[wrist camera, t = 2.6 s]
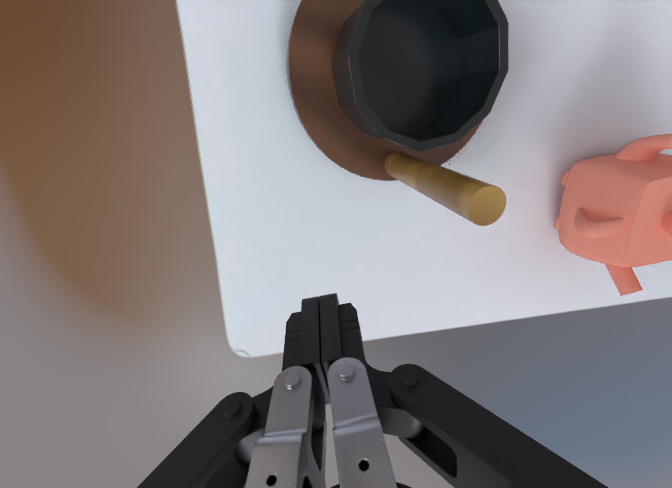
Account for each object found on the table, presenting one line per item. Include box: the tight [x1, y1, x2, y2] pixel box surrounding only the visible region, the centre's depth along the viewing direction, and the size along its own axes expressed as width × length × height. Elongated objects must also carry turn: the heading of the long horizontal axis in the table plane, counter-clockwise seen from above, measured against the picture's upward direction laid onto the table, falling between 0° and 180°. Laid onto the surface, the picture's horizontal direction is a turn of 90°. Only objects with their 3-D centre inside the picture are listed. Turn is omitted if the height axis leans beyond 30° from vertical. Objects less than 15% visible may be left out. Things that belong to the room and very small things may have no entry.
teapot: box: [555, 134, 672, 295], centre depth 34 cm, size 14×12×10 cm
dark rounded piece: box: [287, 0, 508, 226], centre depth 23 cm, size 18×18×15 cm
